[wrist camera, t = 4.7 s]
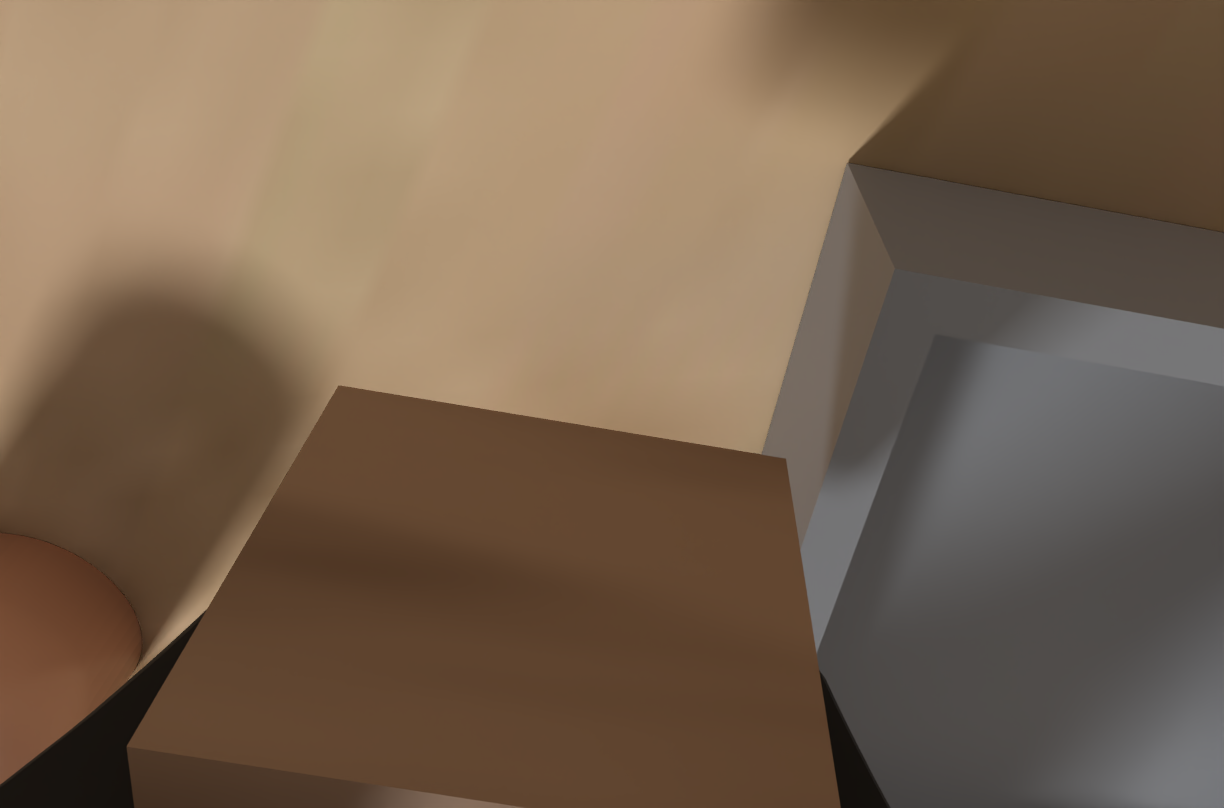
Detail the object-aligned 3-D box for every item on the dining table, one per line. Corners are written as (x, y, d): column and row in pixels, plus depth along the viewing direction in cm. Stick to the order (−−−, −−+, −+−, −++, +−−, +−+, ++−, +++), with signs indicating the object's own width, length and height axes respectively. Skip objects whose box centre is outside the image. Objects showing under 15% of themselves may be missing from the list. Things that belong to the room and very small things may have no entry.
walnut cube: (698, 760, 14) (704, 1189, 10) (331, 703, 14) (173, 1111, 10) (785, 458, 11) (848, 856, 7) (338, 385, 11) (127, 747, 7)
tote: (1168, 915, 27) (1251, 1106, 23) (651, 831, 26) (645, 1011, 22) (1623, 307, 18) (1887, 450, 14) (847, 162, 17) (894, 268, 13)
